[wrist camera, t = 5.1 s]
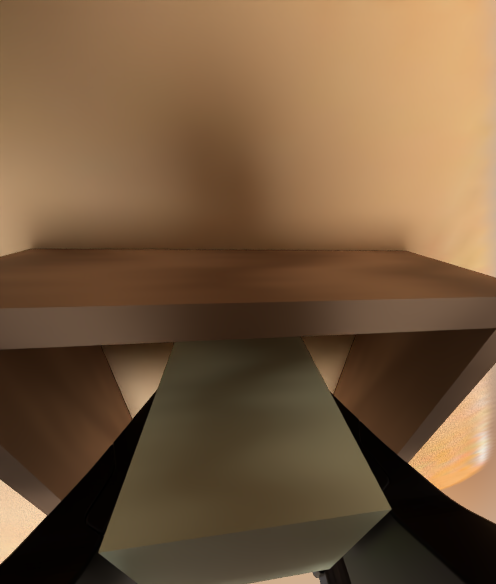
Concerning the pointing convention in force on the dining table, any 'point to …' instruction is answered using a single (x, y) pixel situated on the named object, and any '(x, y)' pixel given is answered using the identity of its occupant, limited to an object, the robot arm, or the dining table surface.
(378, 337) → the open wooden frame
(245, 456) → the block
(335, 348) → the dining table surface
